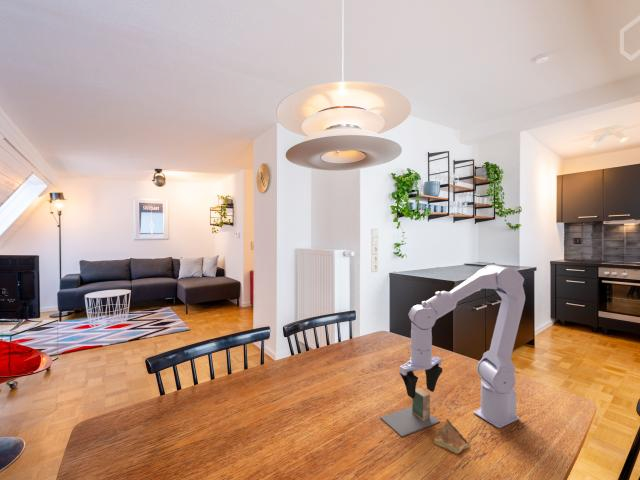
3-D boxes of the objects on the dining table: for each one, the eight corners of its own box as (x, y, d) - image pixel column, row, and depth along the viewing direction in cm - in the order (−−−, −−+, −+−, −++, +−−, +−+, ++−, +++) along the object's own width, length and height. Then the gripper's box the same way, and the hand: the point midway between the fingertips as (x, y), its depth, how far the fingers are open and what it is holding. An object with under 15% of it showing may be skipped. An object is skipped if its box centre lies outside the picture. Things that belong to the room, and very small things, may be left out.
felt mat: (416, 405, 94) (416, 404, 94) (440, 421, 86) (440, 420, 86) (380, 418, 88) (380, 417, 88) (401, 437, 80) (402, 435, 80)
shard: (446, 424, 86) (447, 417, 86) (476, 436, 81) (476, 429, 81) (432, 444, 78) (432, 437, 78) (464, 459, 73) (464, 452, 73)
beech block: (418, 410, 91) (418, 387, 91) (429, 418, 87) (430, 394, 87) (411, 412, 90) (412, 389, 90) (423, 421, 86) (423, 396, 86)
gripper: (428, 338, 95) (428, 381, 95) (392, 347, 88) (392, 392, 89) (447, 346, 89) (447, 392, 89) (409, 355, 82) (409, 405, 83)
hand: (420, 393), depth 89 cm, fingers open, 7 cm apart
